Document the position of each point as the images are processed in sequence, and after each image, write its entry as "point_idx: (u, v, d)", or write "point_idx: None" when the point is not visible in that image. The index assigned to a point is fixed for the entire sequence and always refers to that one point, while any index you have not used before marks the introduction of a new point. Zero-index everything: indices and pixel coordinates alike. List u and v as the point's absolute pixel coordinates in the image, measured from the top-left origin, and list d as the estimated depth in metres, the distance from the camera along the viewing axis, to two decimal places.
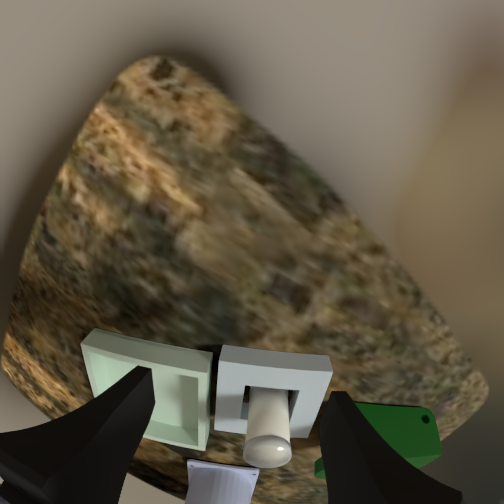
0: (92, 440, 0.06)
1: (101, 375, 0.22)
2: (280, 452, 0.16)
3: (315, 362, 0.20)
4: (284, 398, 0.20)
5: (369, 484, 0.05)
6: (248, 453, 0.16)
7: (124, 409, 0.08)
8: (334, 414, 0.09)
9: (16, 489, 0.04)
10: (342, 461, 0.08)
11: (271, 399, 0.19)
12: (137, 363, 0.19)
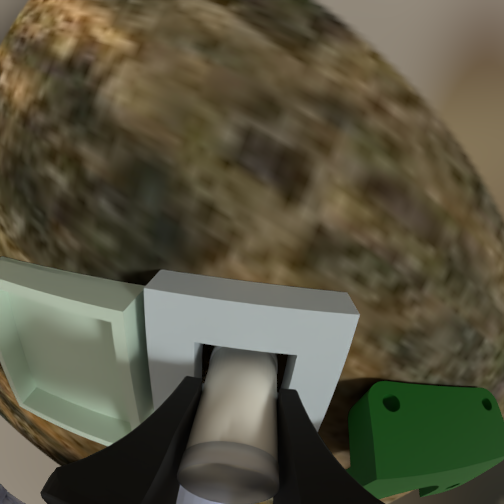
0: (162, 462, 0.06)
1: (7, 328, 0.13)
2: (254, 479, 0.07)
3: (324, 300, 0.11)
4: (269, 371, 0.11)
5: (294, 489, 0.06)
6: (186, 476, 0.07)
7: (183, 424, 0.08)
8: (279, 412, 0.09)
9: None
10: (282, 461, 0.08)
11: (243, 370, 0.10)
12: (29, 296, 0.10)
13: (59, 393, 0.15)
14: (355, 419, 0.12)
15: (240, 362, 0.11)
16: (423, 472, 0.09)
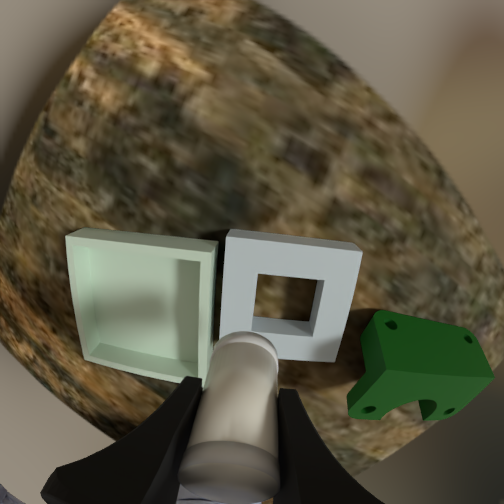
0: (162, 462, 0.06)
1: (85, 287, 0.19)
2: (255, 479, 0.07)
3: (340, 245, 0.18)
4: (269, 371, 0.11)
5: (294, 489, 0.06)
6: (187, 476, 0.07)
7: (183, 424, 0.08)
8: (279, 412, 0.09)
9: None
10: (282, 461, 0.08)
11: (243, 370, 0.10)
12: (128, 250, 0.17)
13: (124, 343, 0.21)
14: (365, 337, 0.19)
15: (241, 361, 0.11)
16: (420, 371, 0.15)
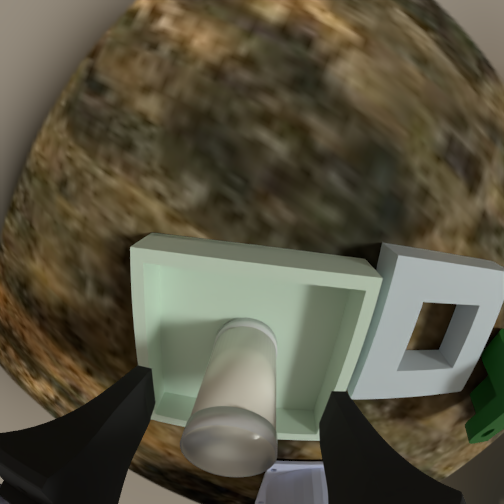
0: (92, 440, 0.06)
1: (154, 323, 0.14)
2: (253, 445, 0.08)
3: (490, 264, 0.12)
4: (269, 352, 0.12)
5: (369, 484, 0.05)
6: (189, 442, 0.08)
7: (124, 409, 0.08)
8: (334, 414, 0.09)
9: (16, 489, 0.04)
10: (342, 461, 0.08)
11: (244, 349, 0.12)
12: (252, 273, 0.11)
13: None
14: (491, 359, 0.13)
15: (242, 342, 0.12)
16: None
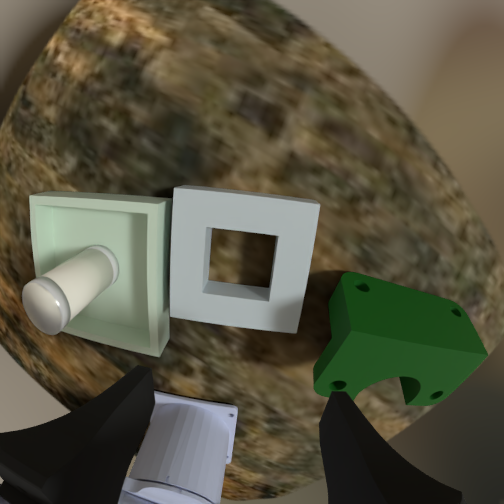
0: (92, 440, 0.06)
1: (47, 249, 0.18)
2: (48, 300, 0.12)
3: (296, 199, 0.17)
4: (97, 262, 0.17)
5: (369, 485, 0.05)
6: (25, 300, 0.12)
7: (124, 409, 0.08)
8: (334, 414, 0.09)
9: (16, 489, 0.04)
10: (342, 461, 0.08)
11: (79, 257, 0.16)
12: (82, 205, 0.16)
13: (84, 310, 0.20)
14: (333, 301, 0.18)
15: (81, 254, 0.17)
16: (395, 337, 0.14)
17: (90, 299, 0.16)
